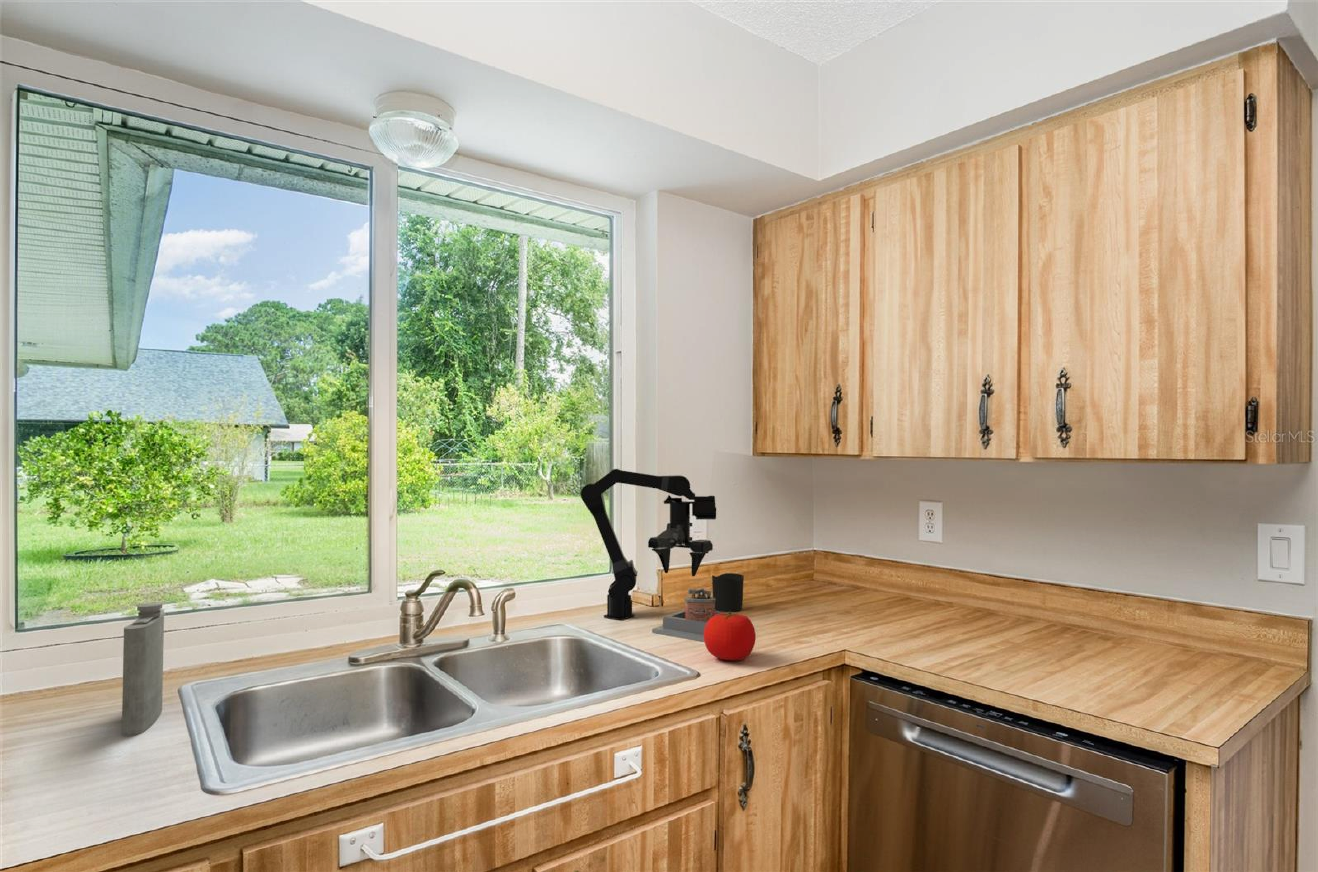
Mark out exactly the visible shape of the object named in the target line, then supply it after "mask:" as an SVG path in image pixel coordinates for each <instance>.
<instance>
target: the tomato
mask: <svg viewBox="0 0 1318 872" xmlns="http://www.w3.org/2000/svg"><path fill="white" fill-rule="evenodd" d="M756 639H757V637H756V630H755V626H754V624H753V622H752V620H751V618H749V617H748V616H746V615H744V614H742V613H740V612H739V613H737V612H726V613H721V614H716V615H714V616H713V617H711V618H710V619H709V621H708V622H707V624H706V626H705V629H704V642H703V643H704V644H705V648H706V650H707V651H708V653H710V654H711V655H712V656H714V657H715V658H717V659H720V660H725V661H741V660H745V659H746V658H747V657H749V655H750V654H751V653H752V652H753V649H754V647H755V644H756Z"/></svg>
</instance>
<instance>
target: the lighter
mask: <svg viewBox="0 0 1318 872" xmlns="http://www.w3.org/2000/svg"><path fill="white" fill-rule="evenodd" d="M686 593H687V595H691V596H686V597H684V602H685V608H684V610H685V619H690V620H697V621H703V622H708V621H709V619H710V618H711V617H713V616H714V615H715V611H716V610H715V601H716V598H713V596H712V590H711V589H704V587H700V588H698V589H697V588H688V589H687V592H686Z"/></svg>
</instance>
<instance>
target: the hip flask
mask: <svg viewBox="0 0 1318 872" xmlns="http://www.w3.org/2000/svg"><path fill="white" fill-rule="evenodd" d="M136 607H137V608H136V610H137V611H138V613H137V614H138V616H137V617H138V618H137V619H136V620H135V621H133V622H132V623H131V624H129V625H126V626H124V627H123V655H122V656H123V657H122V659H123V660H122V662H123V663H122V664H123V665H122V667H123V668H122V697H121V698H122V702H121V703H122V704H121V707H122V708H121V709H122V710H121V736H123V737H133V736H135V737H136V736H138V735H140V734H141V735H142V734H144V733H145V732H146V731H147V730H149V729H150V728H151V727H152V726H154V724H155V723H156V722H157V721H158V719H159V718H160V716H161V714H162V711H163V690H164V689H163V688H164V686H163V685H164V684H163V683H164V682H163V681H164V676H163V675H164V637H165V635H164V633H165V626H164V625H165V610H164V609H163V603H162V602H146V603H141V604H140V603H139V604H138V605H137V606H136Z"/></svg>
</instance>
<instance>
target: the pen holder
mask: <svg viewBox="0 0 1318 872" xmlns="http://www.w3.org/2000/svg"><path fill="white" fill-rule="evenodd" d="M711 580H712V581H711V584H712V586H711V587H712V598H716V601H715V611H720V612H728V613H729V612H731V613H737V612H741V611H742V610H743V605H744V604H743V603H744V575H743V574H740V573H732V572H725V573H722V574H720V575H718V576H715V575H713V574H712V575H711Z"/></svg>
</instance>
